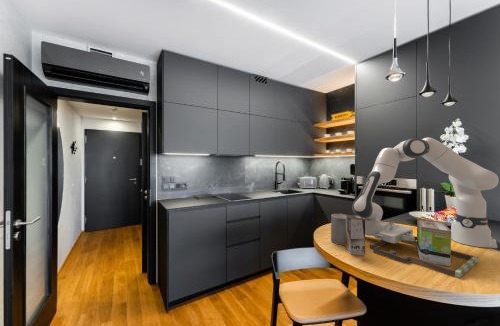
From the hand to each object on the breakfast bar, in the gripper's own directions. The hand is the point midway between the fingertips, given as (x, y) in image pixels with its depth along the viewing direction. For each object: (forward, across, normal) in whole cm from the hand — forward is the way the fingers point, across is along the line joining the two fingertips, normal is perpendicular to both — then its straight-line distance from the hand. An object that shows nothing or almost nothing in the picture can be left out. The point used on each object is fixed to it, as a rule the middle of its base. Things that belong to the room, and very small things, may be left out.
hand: (415, 239), depth 101 cm
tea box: (+6, +1, +7) cm, 9 cm away
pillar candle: (-27, -17, +7) cm, 33 cm away
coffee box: (-16, -22, +7) cm, 28 cm away
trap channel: (+2, -2, +6) cm, 7 cm away
